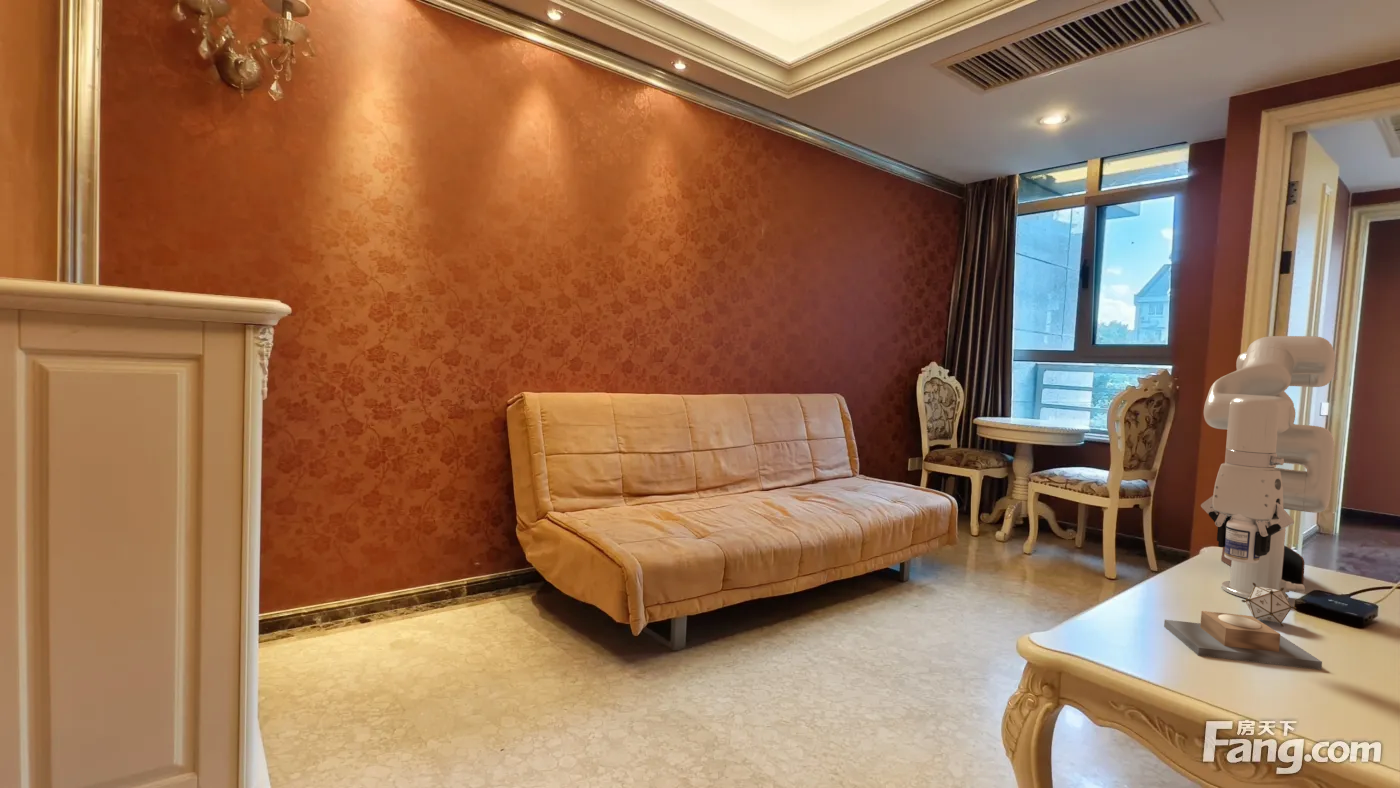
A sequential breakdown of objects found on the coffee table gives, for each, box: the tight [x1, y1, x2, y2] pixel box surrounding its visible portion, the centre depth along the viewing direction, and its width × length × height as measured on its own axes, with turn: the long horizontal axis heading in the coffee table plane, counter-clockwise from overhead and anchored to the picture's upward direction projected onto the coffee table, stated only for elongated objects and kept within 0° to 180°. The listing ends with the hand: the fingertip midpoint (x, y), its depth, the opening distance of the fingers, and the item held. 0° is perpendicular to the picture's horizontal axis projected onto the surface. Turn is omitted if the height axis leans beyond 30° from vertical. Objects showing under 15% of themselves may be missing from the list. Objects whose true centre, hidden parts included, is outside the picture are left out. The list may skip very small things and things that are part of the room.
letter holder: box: [1220, 517, 1305, 585], centre depth 178 cm, size 10×20×14 cm, turn 164°
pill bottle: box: [1224, 514, 1260, 563], centre depth 130 cm, size 5×5×10 cm
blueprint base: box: [1163, 610, 1323, 671], centre depth 130 cm, size 20×14×5 cm
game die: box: [1241, 583, 1297, 628], centre depth 144 cm, size 9×8×10 cm
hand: (1242, 549), depth 130 cm, fingers closed on pill bottle, 5 cm apart
